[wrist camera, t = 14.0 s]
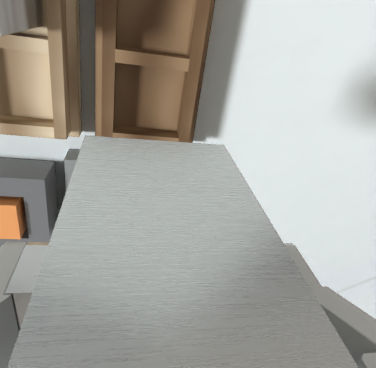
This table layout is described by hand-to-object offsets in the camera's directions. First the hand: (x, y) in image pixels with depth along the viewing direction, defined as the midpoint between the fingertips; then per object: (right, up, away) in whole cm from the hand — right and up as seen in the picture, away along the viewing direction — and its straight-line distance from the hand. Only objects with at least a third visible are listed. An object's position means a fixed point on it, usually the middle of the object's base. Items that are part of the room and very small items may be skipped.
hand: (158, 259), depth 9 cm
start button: (-18, 0, +23) cm, 29 cm away
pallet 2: (-3, +14, +20) cm, 24 cm away
